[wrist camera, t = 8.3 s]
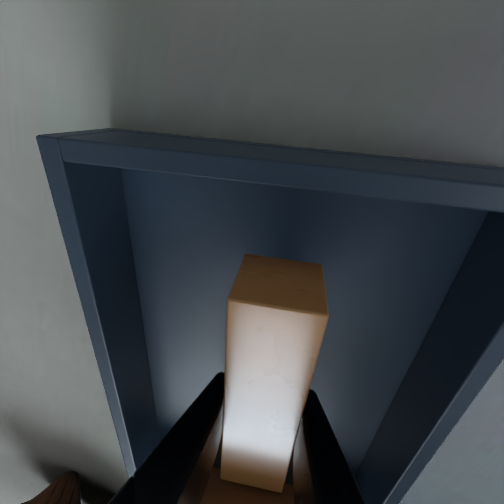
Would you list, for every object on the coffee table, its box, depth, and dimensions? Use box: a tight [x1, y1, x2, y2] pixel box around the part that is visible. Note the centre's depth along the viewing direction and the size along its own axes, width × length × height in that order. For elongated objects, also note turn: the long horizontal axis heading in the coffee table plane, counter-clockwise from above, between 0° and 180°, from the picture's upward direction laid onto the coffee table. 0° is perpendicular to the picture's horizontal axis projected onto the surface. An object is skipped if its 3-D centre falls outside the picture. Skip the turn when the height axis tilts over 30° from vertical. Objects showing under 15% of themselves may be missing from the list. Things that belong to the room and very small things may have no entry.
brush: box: [201, 254, 329, 504], centre depth 9 cm, size 13×5×3 cm, turn 176°
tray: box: [36, 128, 504, 504], centre depth 12 cm, size 13×19×3 cm
